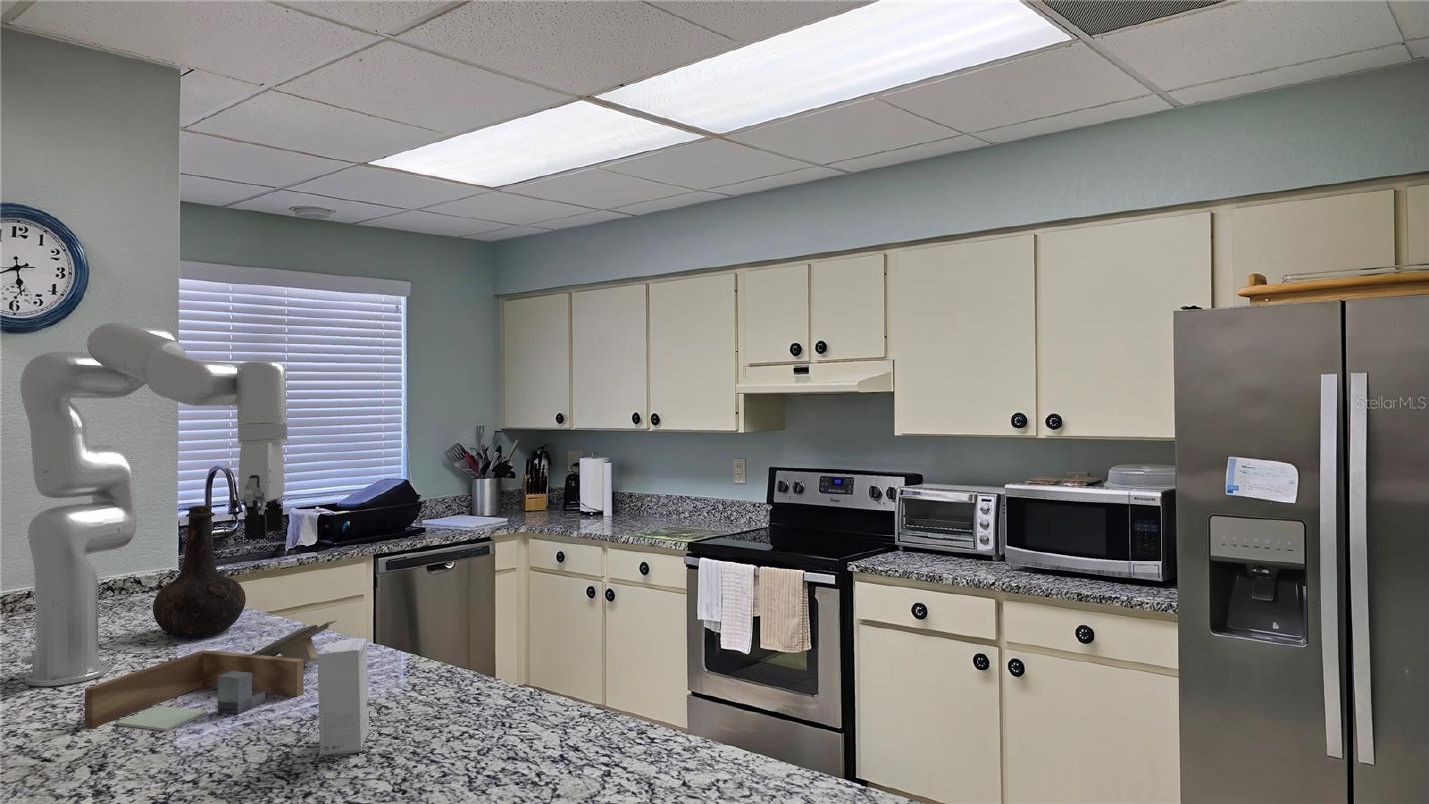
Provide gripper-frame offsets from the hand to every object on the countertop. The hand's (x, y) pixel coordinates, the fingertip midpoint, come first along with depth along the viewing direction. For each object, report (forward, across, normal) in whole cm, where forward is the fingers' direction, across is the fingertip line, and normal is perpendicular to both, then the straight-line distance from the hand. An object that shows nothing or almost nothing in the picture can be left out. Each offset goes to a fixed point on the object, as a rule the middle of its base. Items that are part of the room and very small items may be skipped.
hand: (264, 535), depth 154 cm
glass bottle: (+27, -51, -28) cm, 65 cm away
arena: (+28, +1, -10) cm, 30 cm away
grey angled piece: (+28, -21, -3) cm, 36 cm away
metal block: (+28, +2, -4) cm, 29 cm away
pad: (+28, +6, -14) cm, 32 cm away
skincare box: (+29, +22, +17) cm, 40 cm away
